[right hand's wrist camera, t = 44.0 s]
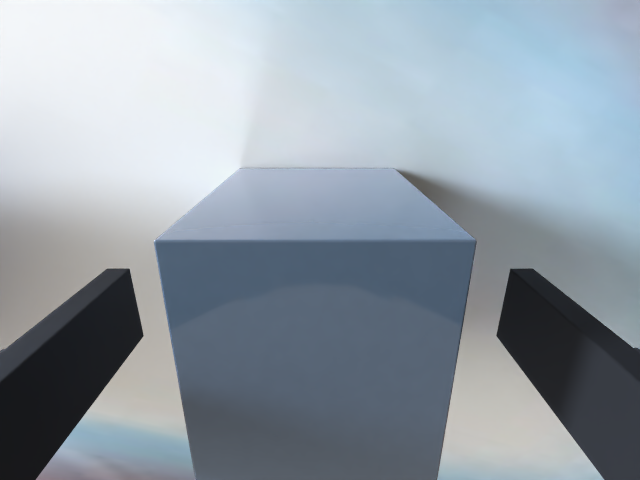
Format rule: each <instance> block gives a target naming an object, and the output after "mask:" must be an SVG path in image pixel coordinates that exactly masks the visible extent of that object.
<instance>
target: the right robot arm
mask: <svg viewBox="0 0 640 480" xmlns="http://www.w3.org/2000/svg"><path fill="white" fill-rule="evenodd" d="M142 337H143V331H142V326H141V321H140V317H139V312H138V307H137V302H136V297H135V293H134V288H133V283H132V278H131V273H130V269H106V270H105V271H104V272H103V273H101V274H100V275H99V276H97V277H96V278H95V279H94V280H92V281H91V282H90V283H89V284H87V285H86V286H85V287H83V288H82V289H81V290H80V291H78V292H77V293H76V294H75V295H73V296H72V297H71V298H70V299H68V300H67V301H66V302H64V303H63V304H62V305H61V306H59V307H58V308H57V309H56V310H54V311H53V312H52V313H51V314H49V315H48V316H47V317H45V318H44V319H43V320H42V321H40V322H39V323H38V324H37V325H35V326H34V327H33V328H31V329H30V330H29V331H28V332H26V333H25V334H24V335H23V336H21V337H20V338H19V339H18V340H16V341H15V342H14V343H12V344H11V345H10V346H9V347H7V348H6V349H3V350H1V351H0V480H36V478H37V477H38V476H39V474H40V473H41V472H42V470H43V469H44V468H45V466H46V465H47V464H48V462H49V461H50V460H51V458H52V457H53V456H54V454H55V453H56V452H57V450H58V449H59V448H60V446H61V445H62V444H63V442H64V441H65V440H66V438H67V437H68V436H69V434H70V433H71V432H72V430H73V429H74V428H75V426H76V425H77V424H78V422H79V421H80V420H81V418H82V417H83V416H84V414H85V413H86V412H87V410H88V409H89V408H90V406H91V405H92V404H93V402H94V401H95V400H96V398H97V397H98V396H99V394H100V393H101V392H102V390H103V389H104V388H105V386H106V385H107V384H108V382H109V381H110V380H111V379H112V377H113V376H114V375H115V373H116V372H117V371H118V369H119V368H120V367H121V365H122V364H123V363H124V361H125V360H126V359H127V357H128V356H129V355H130V353H131V352H132V351H133V349H134V348H135V347H136V345H137V344H138V343H139V341H140V340H141V339H142ZM497 337H498V339H499V340H500V341H501V343H502V344H503V345H504V347H505V348H506V349H507V351H508V352H509V353H510V355H511V356H512V357H513V359H514V360H515V361H516V363H517V364H518V365H519V367H520V368H521V369H522V371H523V372H524V373H525V375H526V376H527V377H528V379H529V380H530V381H531V382H532V384H533V385H534V386H535V388H536V389H537V390H538V392H539V393H540V394H541V396H542V397H543V398H544V400H545V401H546V402H547V404H548V405H549V406H550V408H551V409H552V410H553V412H554V413H555V414H556V416H557V417H558V418H559V420H560V421H561V422H562V424H563V425H564V426H565V428H566V429H567V430H568V432H569V433H570V434H571V436H572V437H573V438H574V440H575V441H576V442H577V444H578V445H579V446H580V448H581V449H582V450H583V452H584V453H585V454H586V456H587V457H588V458H589V460H590V461H591V462H592V464H593V465H594V466H595V468H596V469H597V470H598V472H599V473H600V474H601V476H602V477H603V478H604V480H640V349H638V348H633V347H631V346H630V345H629V344H628V343H626V342H625V341H624V340H622V339H621V338H620V337H619V336H617V335H616V334H615V333H614V332H612V331H611V330H610V329H609V328H607V327H606V326H605V325H603V324H602V323H601V322H600V321H598V320H597V319H596V318H595V317H593V316H592V315H591V314H589V313H588V312H587V311H586V310H584V309H583V308H582V307H581V306H579V305H578V304H577V303H576V302H574V301H573V300H572V299H570V298H569V297H568V296H567V295H565V294H564V293H563V292H562V291H560V290H559V289H558V288H557V287H555V286H554V285H553V284H551V283H550V282H549V281H548V280H546V279H545V278H544V277H543V276H541V275H540V274H539V273H537V272H536V271H535V270H534V269H510V273H509V278H508V283H507V288H506V293H505V297H504V302H503V307H502V312H501V317H500V321H499V326H498V331H497Z"/></svg>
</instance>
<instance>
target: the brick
mask: <svg viewBox="0 0 640 480" xmlns="http://www.w3.org/2000/svg"><path fill="white" fill-rule="evenodd" d="M154 245H155V251H156V257H157V262H158V268H159V274H160V279H161V285H162V291H163V297H164V302H165V308H166V314H167V319H168V325H169V331H170V337H171V342H172V348H173V354H174V359H175V365H176V371H177V376H178V382H179V388H180V394H181V399H182V405H183V411H184V416H185V422H186V428H187V434H188V439H189V445H190V451H191V456H192V462H193V468H194V473H195V479H196V480H437V477H438V471H439V465H440V459H441V453H442V447H443V441H444V435H445V429H446V423H447V417H448V411H449V405H450V399H451V393H452V387H453V381H454V374H455V368H456V362H457V356H458V350H459V344H460V338H461V332H462V326H463V320H464V314H465V308H466V302H467V296H468V290H469V284H470V278H471V272H472V266H473V260H474V254H475V248H476V239H474V238H473V237H472V236H471V235H470V234H469V233H468V232H466V231H465V230H464V229H463V228H462V227H461V226H460V225H458V224H457V223H456V222H455V221H454V220H453V219H452V218H450V217H449V216H448V215H447V214H446V213H445V212H443V211H442V210H441V209H440V208H439V207H438V206H437V205H435V204H434V203H433V202H432V201H431V200H430V199H429V198H427V197H426V196H425V195H424V194H423V193H422V192H421V191H419V190H418V189H417V188H416V187H415V186H414V185H413V184H411V183H410V182H409V181H408V180H407V179H406V178H405V177H403V176H402V175H401V174H400V173H399V172H398V171H396V170H395V169H394V168H240V169H238V170H237V171H236V172H235V173H234V174H232V175H231V176H230V177H229V178H228V179H226V180H225V181H224V182H223V183H222V184H221V185H219V186H218V187H217V188H216V189H215V190H213V191H212V192H211V193H210V194H209V195H208V196H206V197H205V198H204V199H203V200H202V201H200V202H199V203H198V204H197V205H196V206H195V207H193V208H192V209H191V210H190V211H189V212H187V213H186V214H185V215H184V216H183V217H182V218H180V219H179V220H178V221H177V222H176V223H174V224H173V225H172V226H171V227H170V228H169V229H167V230H166V231H165V232H164V233H163V234H161V235H160V236H159V237H158V238H157V239H155V240H154Z"/></svg>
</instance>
